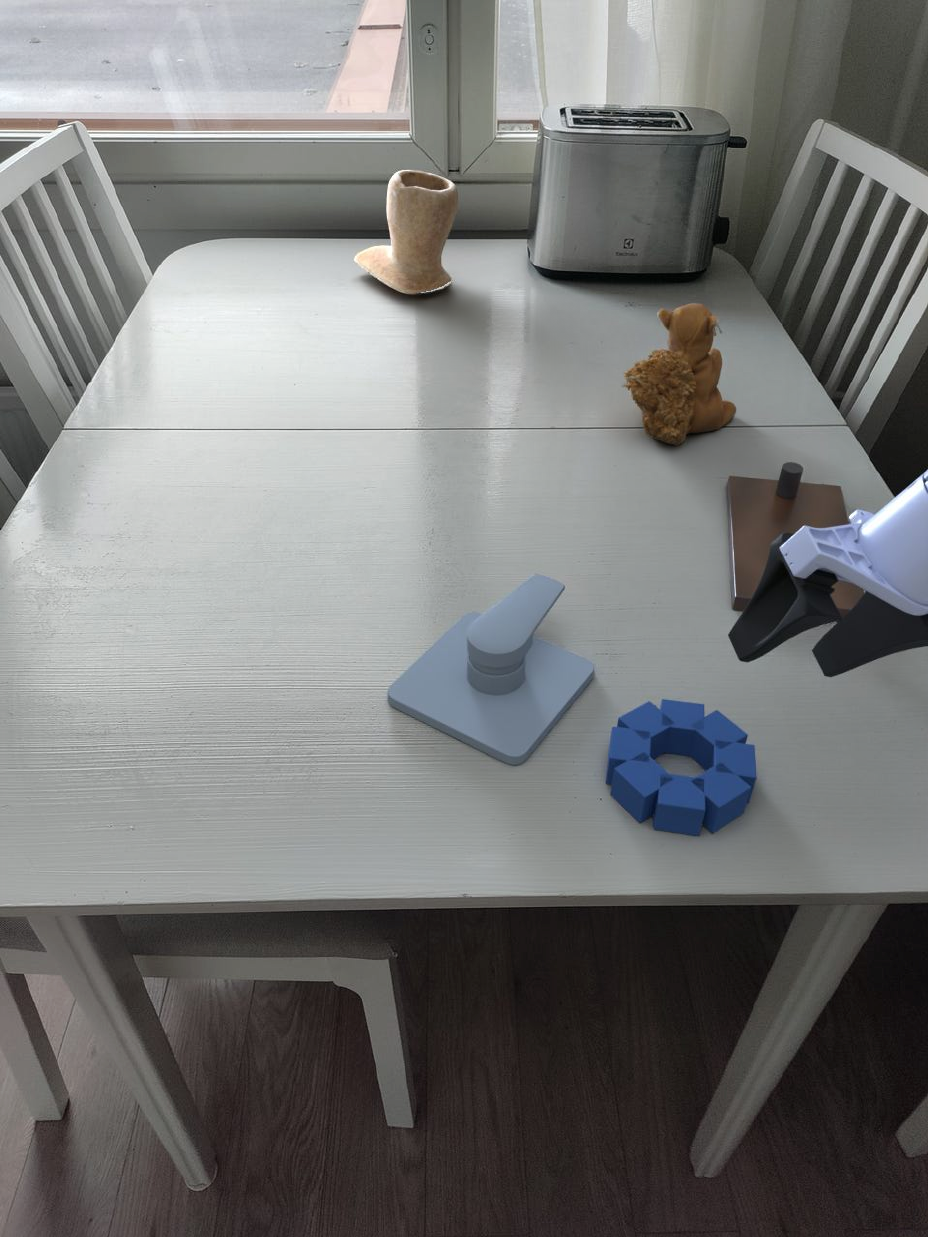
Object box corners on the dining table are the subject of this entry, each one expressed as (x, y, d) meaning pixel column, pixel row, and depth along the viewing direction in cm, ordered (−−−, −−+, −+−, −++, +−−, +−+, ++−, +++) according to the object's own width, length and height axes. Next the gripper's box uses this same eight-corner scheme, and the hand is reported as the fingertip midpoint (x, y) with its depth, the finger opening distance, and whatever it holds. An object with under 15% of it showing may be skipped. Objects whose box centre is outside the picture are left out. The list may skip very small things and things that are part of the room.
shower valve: (620, 602, 75) (521, 717, 66) (613, 654, 79) (518, 769, 69) (487, 550, 81) (378, 649, 71) (486, 601, 84) (382, 702, 75)
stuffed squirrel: (739, 413, 110) (762, 301, 102) (688, 466, 101) (708, 348, 93) (660, 390, 115) (675, 281, 106) (604, 439, 106) (616, 325, 97)
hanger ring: (745, 736, 72) (752, 709, 70) (751, 844, 64) (759, 817, 63) (611, 718, 73) (615, 692, 71) (602, 822, 66) (605, 796, 64)
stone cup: (473, 289, 139) (474, 180, 129) (401, 306, 134) (396, 194, 124) (421, 257, 149) (419, 153, 139) (353, 272, 144) (345, 165, 134)
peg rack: (837, 498, 97) (848, 459, 94) (863, 624, 82) (878, 583, 79) (726, 487, 98) (734, 449, 95) (732, 609, 83) (741, 568, 80)
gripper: (1000, 486, 56) (829, 621, 65) (842, 424, 49) (673, 586, 58) (1068, 579, 52) (876, 709, 61) (907, 527, 45) (714, 684, 54)
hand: (780, 656), depth 59 cm, fingers open, 7 cm apart
